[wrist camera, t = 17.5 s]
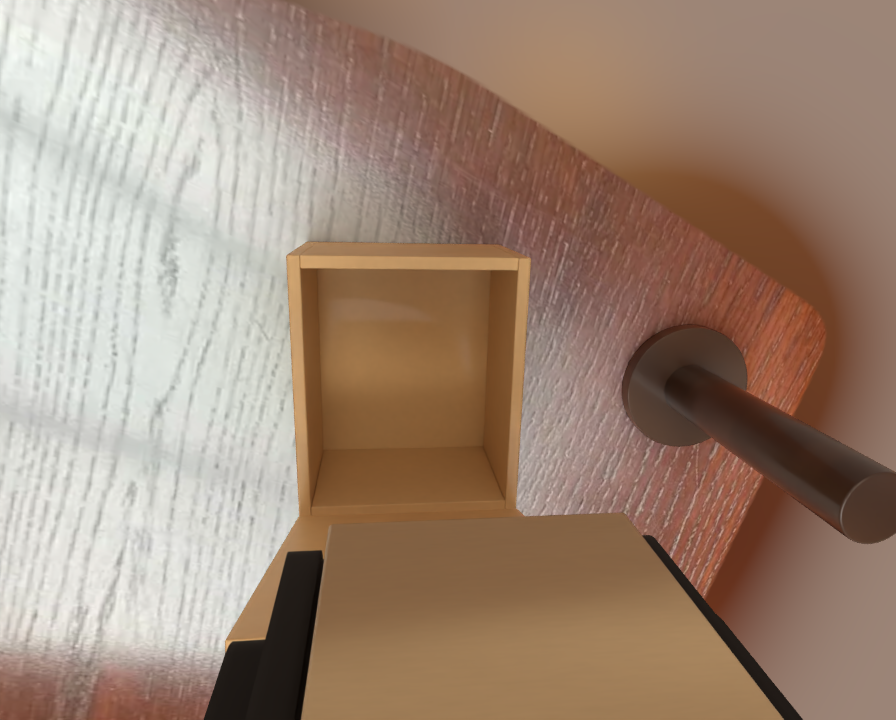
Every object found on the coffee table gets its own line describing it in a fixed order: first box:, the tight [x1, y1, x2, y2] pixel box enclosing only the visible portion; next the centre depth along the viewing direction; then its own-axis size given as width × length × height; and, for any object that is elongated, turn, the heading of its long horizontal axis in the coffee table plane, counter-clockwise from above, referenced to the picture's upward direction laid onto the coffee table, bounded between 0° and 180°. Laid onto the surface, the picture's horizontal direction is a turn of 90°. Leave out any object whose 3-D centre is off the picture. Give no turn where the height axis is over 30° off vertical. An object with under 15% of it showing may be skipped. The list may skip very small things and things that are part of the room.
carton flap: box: [225, 509, 525, 653], centre depth 23 cm, size 14×11×5 cm
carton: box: [286, 242, 531, 517], centre depth 32 cm, size 13×11×8 cm
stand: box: [622, 325, 896, 544], centre depth 31 cm, size 8×8×16 cm
